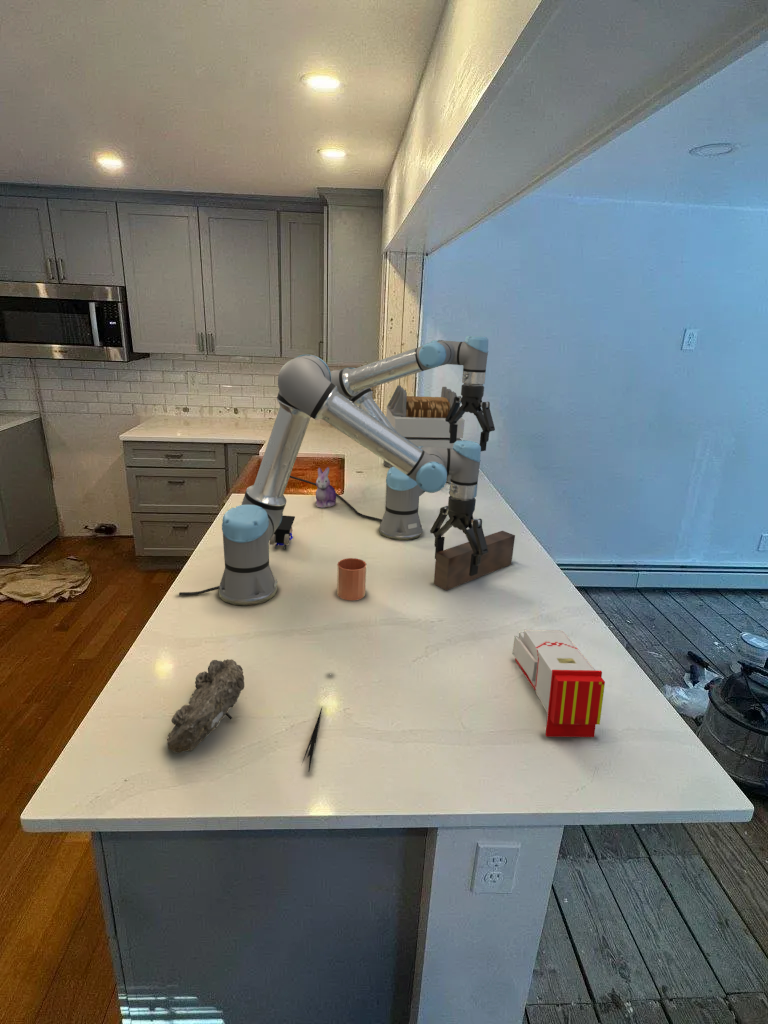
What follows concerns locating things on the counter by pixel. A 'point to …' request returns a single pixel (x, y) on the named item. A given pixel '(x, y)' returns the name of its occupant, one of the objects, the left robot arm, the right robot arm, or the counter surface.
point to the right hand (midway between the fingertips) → (467, 446)
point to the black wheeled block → (283, 532)
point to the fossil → (206, 705)
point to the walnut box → (457, 560)
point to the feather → (313, 740)
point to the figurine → (324, 490)
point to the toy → (561, 681)
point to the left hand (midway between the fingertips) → (455, 566)
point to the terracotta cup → (351, 579)
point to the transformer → (423, 419)
